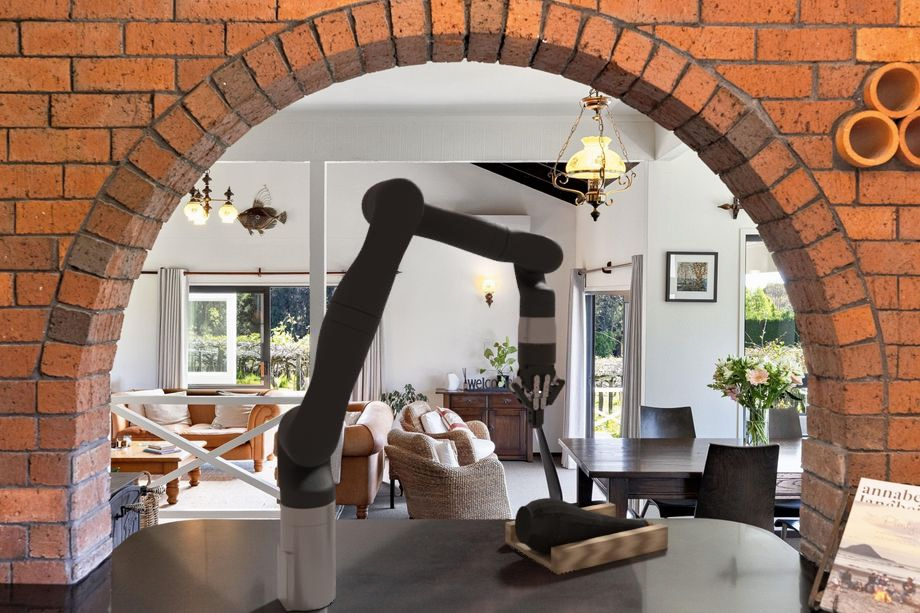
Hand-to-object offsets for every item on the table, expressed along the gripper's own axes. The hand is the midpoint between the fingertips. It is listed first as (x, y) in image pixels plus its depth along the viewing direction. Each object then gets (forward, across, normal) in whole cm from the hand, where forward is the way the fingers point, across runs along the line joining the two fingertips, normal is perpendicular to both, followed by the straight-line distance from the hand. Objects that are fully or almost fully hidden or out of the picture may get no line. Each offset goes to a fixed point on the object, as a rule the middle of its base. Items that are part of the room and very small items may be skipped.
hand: (535, 427), depth 144 cm
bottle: (+18, -4, -1) cm, 19 cm away
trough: (+26, +13, 0) cm, 29 cm away
